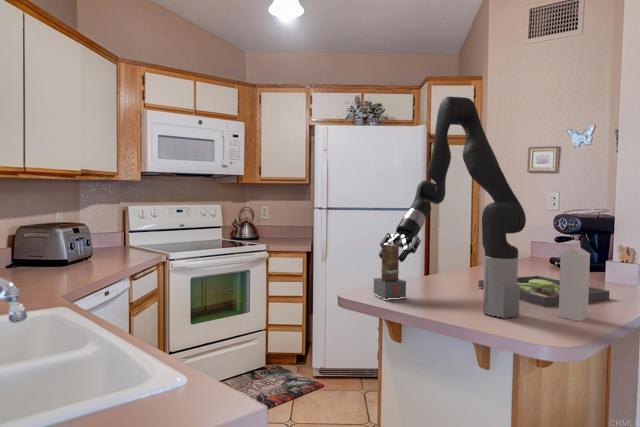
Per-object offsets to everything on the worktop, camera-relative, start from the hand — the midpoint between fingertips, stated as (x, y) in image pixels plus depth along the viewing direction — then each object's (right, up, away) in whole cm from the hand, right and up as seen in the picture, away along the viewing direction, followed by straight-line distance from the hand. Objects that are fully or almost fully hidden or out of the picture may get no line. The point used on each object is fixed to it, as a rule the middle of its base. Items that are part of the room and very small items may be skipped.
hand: (390, 258), depth 153 cm
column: (0, -7, 0) cm, 7 cm away
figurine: (+55, -14, +7) cm, 57 cm away
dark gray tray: (+56, -13, +9) cm, 58 cm away
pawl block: (0, -13, +1) cm, 13 cm away
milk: (+50, -15, -23) cm, 57 cm away
